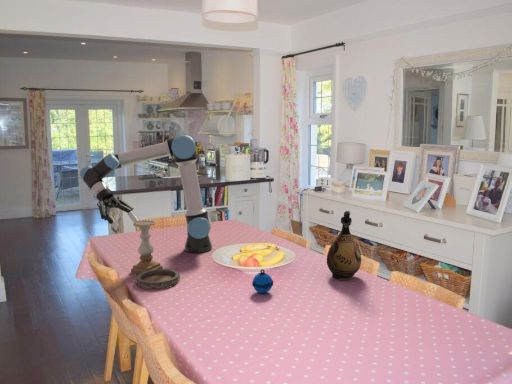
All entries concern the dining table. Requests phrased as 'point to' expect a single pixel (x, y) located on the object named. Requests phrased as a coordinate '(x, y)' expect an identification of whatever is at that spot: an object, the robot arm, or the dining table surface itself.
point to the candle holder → (145, 249)
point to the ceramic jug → (344, 253)
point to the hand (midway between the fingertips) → (127, 225)
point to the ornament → (262, 282)
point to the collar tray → (157, 279)
